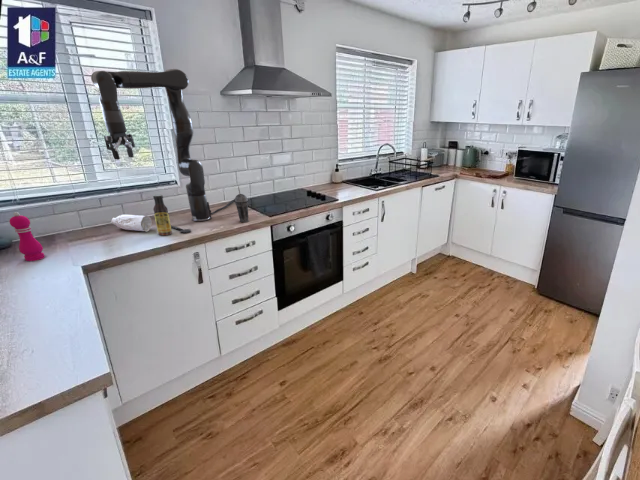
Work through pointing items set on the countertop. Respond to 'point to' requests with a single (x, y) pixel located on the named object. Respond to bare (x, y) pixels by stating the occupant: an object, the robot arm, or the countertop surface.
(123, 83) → the robot arm
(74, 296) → the countertop surface
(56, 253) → the countertop surface
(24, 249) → the pepper mill
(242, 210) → the beverage cup
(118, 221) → the white bottle
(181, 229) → the spoon
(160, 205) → the sauce bottle
